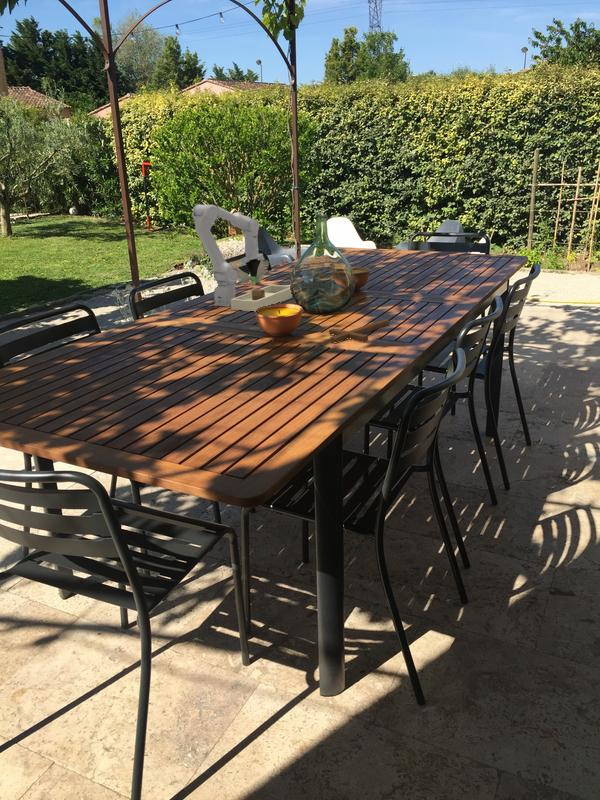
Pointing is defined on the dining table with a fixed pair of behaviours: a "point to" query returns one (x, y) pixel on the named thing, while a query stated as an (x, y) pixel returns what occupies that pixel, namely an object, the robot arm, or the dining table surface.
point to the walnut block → (258, 294)
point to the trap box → (271, 297)
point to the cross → (357, 331)
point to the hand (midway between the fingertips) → (253, 276)
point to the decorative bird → (246, 277)
